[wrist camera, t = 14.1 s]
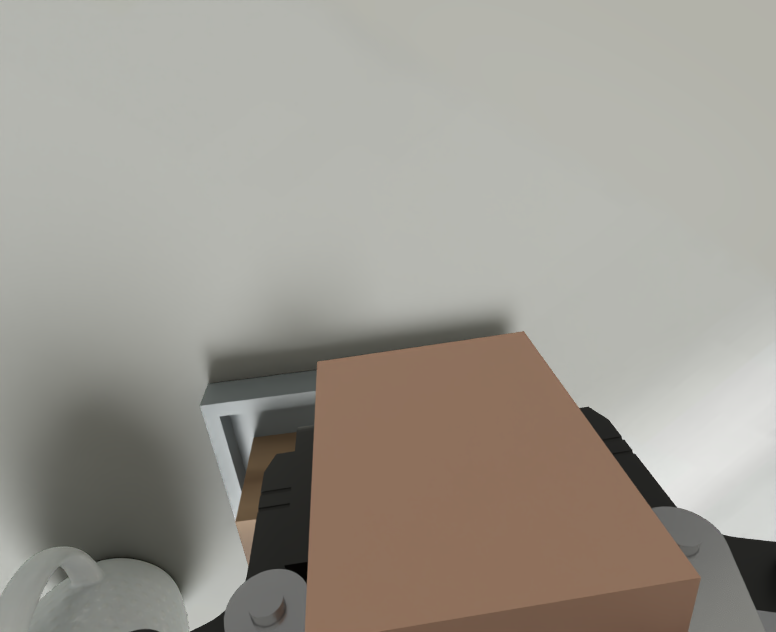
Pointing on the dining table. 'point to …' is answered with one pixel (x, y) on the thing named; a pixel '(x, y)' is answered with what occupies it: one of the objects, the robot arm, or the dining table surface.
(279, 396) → the tray
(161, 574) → the mug
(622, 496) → the block
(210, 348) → the dining table surface
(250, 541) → the block
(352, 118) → the dining table surface
